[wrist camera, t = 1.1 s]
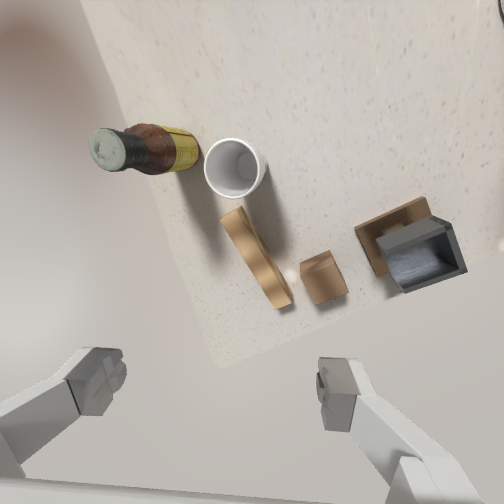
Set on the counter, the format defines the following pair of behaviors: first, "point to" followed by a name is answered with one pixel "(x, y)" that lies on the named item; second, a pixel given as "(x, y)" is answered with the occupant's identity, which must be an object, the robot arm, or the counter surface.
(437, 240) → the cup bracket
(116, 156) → the sauce bottle
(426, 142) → the counter surface
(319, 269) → the walnut block
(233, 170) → the drinking glass
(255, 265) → the oak rail
